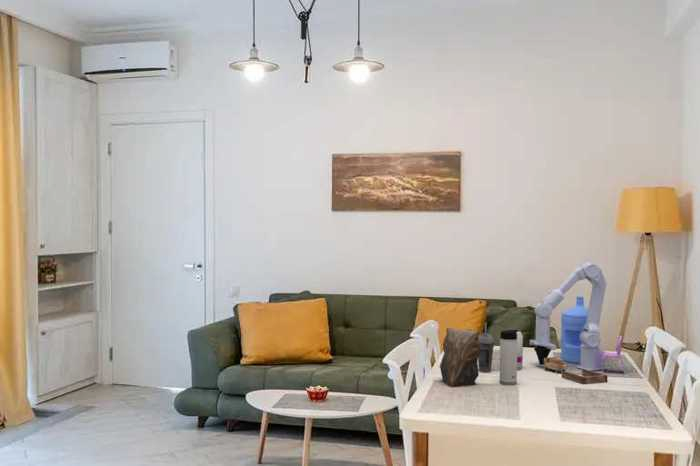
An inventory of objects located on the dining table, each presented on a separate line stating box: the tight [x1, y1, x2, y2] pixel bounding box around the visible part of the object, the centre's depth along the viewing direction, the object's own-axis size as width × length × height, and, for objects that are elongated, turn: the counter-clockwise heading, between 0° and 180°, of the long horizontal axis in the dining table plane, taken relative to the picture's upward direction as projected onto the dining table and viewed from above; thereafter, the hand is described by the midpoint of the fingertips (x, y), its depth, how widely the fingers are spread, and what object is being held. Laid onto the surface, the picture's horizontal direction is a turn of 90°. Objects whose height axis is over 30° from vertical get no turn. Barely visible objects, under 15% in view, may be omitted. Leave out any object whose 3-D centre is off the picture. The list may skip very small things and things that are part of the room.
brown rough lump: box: [439, 327, 480, 388], centre depth 256 cm, size 13×13×20 cm
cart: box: [543, 356, 568, 374], centre depth 279 cm, size 5×8×5 cm, turn 23°
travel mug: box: [499, 329, 519, 386], centre depth 256 cm, size 6×7×20 cm
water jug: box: [560, 296, 589, 365], centre depth 302 cm, size 16×16×28 cm
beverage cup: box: [477, 321, 496, 373], centre depth 277 cm, size 7×7×20 cm
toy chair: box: [601, 335, 626, 375], centre depth 278 cm, size 8×9×15 cm
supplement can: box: [517, 331, 524, 371], centre depth 284 cm, size 8×8×15 cm
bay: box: [561, 369, 608, 385], centre depth 264 cm, size 11×12×2 cm
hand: (542, 364), depth 286 cm, fingers closed
